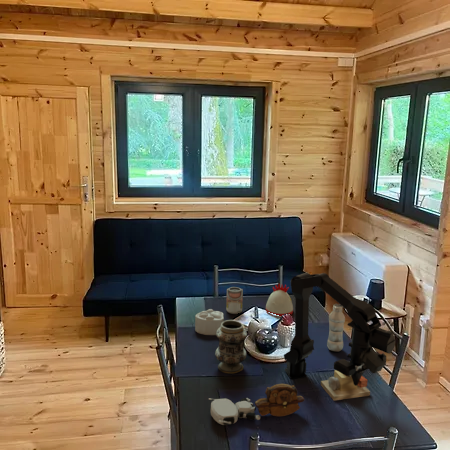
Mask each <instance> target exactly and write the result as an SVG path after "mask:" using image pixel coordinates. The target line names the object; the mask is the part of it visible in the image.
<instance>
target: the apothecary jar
mask: <svg viewBox="0 0 450 450" xmlns="http://www.w3.org/2000/svg"><path fill="white" fill-rule="evenodd" d="M247 332H248V331H247V330H246V329H245V327H244V325H243V323H242V322H241V321H238V320H235V319H227V320H224V322H222V323H221V327H220V328H219V329H218V330H217V332H216V335H215V336H216V337H217V339H218V341H219V342H218V347H217V348H216V350H215V353H214V355H215V358H216V359H217V360H218V361H219V362H220V363H218V365H217V368H218V370H219V371H220V372H222V373H223V374H232V375H233V374H237V373H240V372H242V371H243V370H244V365H243V362H244V361H245V359H246V358H247V351H246V349H245V348H244V343H245V340H246V339H247V337H248V333H247Z"/></svg>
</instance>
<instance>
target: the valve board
mask: <svg viewBox="0 0 450 450" xmlns="http://www.w3.org/2000/svg"><path fill="white" fill-rule="evenodd" d="M333 370H334V371H333V376H330V377H328V379H326V380H320V386H321V387H322V389H323V390H324V391H325V392H326V393H327V394H328V395H329V397H330V398H331V399H332V400H333V401H341V400H347V399H355V398H361V397H362V398H363V397H368V396H371V390H369V388H367V387H363V388H360V387H359V386H358V385H357V386H355V385H354V383H353V380H352V377H350V376H346V375H344V374H342V373H340V372H339V371H337V370H335V369H333Z"/></svg>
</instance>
